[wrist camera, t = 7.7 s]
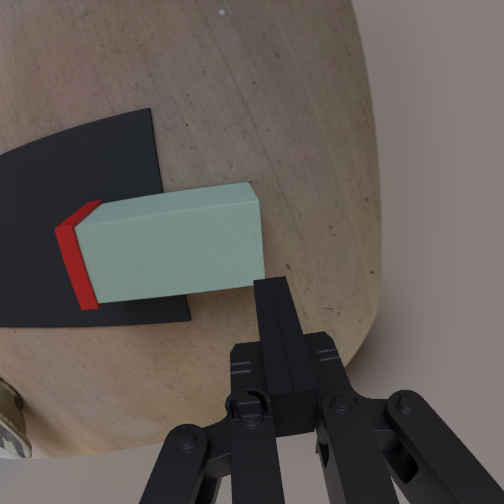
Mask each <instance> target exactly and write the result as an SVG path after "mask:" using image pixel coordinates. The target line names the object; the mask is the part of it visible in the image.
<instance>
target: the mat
mask: <svg viewBox="0 0 504 504" xmlns="http://www.w3.org/2000/svg"><path fill="white" fill-rule="evenodd" d="M162 193H163V188H162V182H161V176H160V170H159V164H158V158H157V152H156V145H155V139H154V132H153V125H152V117H151V110H150V108H146V109H141V110H137V111H132V112H128V113H124V114H120V115H116V116H112V117H108V118H105V119H101V120H97V121H94V122H90V123H87V124H83V125H80V126H77V127H74V128H71V129H67V130H64V131H61V132H58V133H56V134H53V135H50V136H47V137H44V138H41V139H39V140H36V141H33V142H31V143H28V144H26V145H23V146H21V147H18V148H16V149H13V150H11V151H9V152H6V153H4V154H2V155H0V327H93V326H119V325H139V324H155V323H170V322H183V321H191V316H190V312H189V308H188V304H187V300H186V296H185V294H182V295H173V296H164V297H155V298H146V299H136V300H127V301H116V302H106V303H101V304H100V306H99V308H98V309H89V310H82V309H81V307H80V304H79V301H78V299H77V296H76V294H75V291H74V288H73V286H72V283H71V280H70V277H69V274H68V271H67V268H66V265H65V262H64V259H63V256H62V253H61V250H60V247H59V243H58V240H57V236H56V233H55V228H56V227H57V226H59V225H60V224H61V223H62V222H63V221H65V220H66V219H67V218H68V217H70V216H71V215H72V214H73V213H75V212H76V211H77V210H79V209H80V208H81V207H82V206H84V205H85V204H86V203H88V202H93V201H98V200H102V203H103V204H104V203H109V202H115V201H120V200H126V199H132V198H137V197H143V196H149V195H156V194H162Z"/></svg>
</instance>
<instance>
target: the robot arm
mask: <svg viewBox="0 0 504 504" xmlns="http://www.w3.org/2000/svg"><path fill="white" fill-rule="evenodd" d="M253 285H254V294H255V303H256V311H257V320H258V329H259V336H260V341H257V342H248V343H239V344H235V345H234V347H233V349H232V351H231V353H230V365H231V366H230V372H231V394H230V395H229V396H228V397H227V399H226V403H225V408H226V411H227V416H226V417H225V418H224V419H222V420H221V421H220V422H217V423H215V424H213V425H210V426H207V427H204V428H201V427H199V426H196V425H194V424H183V425H180V426H177V427H175V428H174V429H172V430H171V431H170V432H169V434H168V435H167V437H166V439H165V441H164V444H163V446H162V449H161V451H160V454H159V456H158V458H157V461H156V463H155V466H154V468H153V471H152V473H151V475H150V478H149V480H148V483H147V485H146V488H145V490H144V493H143V495H142V497H141V500H140V502H139V504H215V502H216V498H217V495H218V491H219V488H220V484H221V480H222V477H224V476H227V475H230V474H231V486H232V504H285V501H284V493H283V487H282V480H281V472H280V466H279V459H278V452H277V444H276V437H284V436H291V435H297V434H303V433H309V432H314V430H315V428H316V432H317V444H316V454H317V453H319V456H320V461H321V465H322V469H323V474H324V478H325V483H326V487H327V492H328V496H329V500H330V504H399V501H398V498H397V495H396V492H395V489H394V486H393V483H392V480H391V477H392V479H393V480H394V481H395V483H396V484H397V486H398V487H399V489H400V490H401V491H402V493H403V494H404V496H405V497H406V498H407V500H408V501H409V503H410V504H504V491H503V490H502V488H501V487H500V486H499V485H498V484H497V482H496V481H495V480H494V479H493V478H492V476H491V475H490V474H489V473H488V472H487V471H486V469H485V468H484V467H483V466H482V465H481V463H479V461H478V460H477V459H476V458H475V456H474V455H473V454H472V453H471V452H470V451H469V450H468V448H467V447H466V446H465V445H464V444H463V443H462V442H461V440H460V439H459V438H458V437H457V436H456V435H455V433H454V432H453V431H452V430H451V429H450V428H449V427H448V426H447V425H446V423H445V422H444V421H443V420H442V419H441V418H440V417H439V416H438V414H437V413H436V412H435V411H434V410H433V409H432V408H431V406H430V405H429V404H428V403H427V402H426V401H425V400H424V399H423V398H422V396H420V395H419V394H418V393H416V392H414V391H411V390H400V391H397V392H395V393H394V394H392V395H391V396H390V397H389V399H371V398H365V397H363V396H361V395H359V394H358V393H356V392H355V391H354V390H353V388H352V386H351V384H350V382H349V379H348V376H347V374H346V372H345V369H344V366H343V364H342V361H341V359H340V356H339V353H338V351H337V348H336V346H335V343H334V341H333V339H332V338H331V337H330V336H329V335H328V334H327V333H326V332H325V331H323V332H317V333H310V334H304V335H303V332H302V329H301V325H300V322H299V319H298V315H297V312H296V309H295V306H294V302H293V299H292V296H291V293H290V289H289V286H288V283H287V280H286V276H283V277H275V278H267V279H258V280H253ZM390 476H391V477H390Z"/></svg>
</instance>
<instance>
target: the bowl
mask: <svg viewBox="0 0 504 504" xmlns="http://www.w3.org/2000/svg"><path fill="white" fill-rule="evenodd" d="M22 408H23V402H22V400H21V398H20V397H19V396H18V395H17V394H16V392H15V391H14V390H13V389H12V388H11V387H10V386H9V385H7V384H6V383H5V382H3V381H1V380H0V447H2V448H3V449H5V450H7V451H9V452H10V453H12V454H14V455H17V456H19V457H22V458H31V456H32V452H31V451H32V446H31V443H30V441H29V440H28V438H27V437H26V423H25V418H24V415H23V413H22V411H21V409H22Z"/></svg>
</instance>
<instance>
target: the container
mask: <svg viewBox="0 0 504 504" xmlns="http://www.w3.org/2000/svg"><path fill="white" fill-rule="evenodd" d="M55 233H56V236H57V240H58V243H59V247H60V250H61V253H62V256H63V259H64V262H65V265H66V268H67V271H68V274H69V277H70V280H71V283H72V286H73V288H74V291H75V294H76V296H77V299H78V301H79V304H80V307H81V309H82V310H89V309H98V308H99V306H100V304H101V303H106V302H116V301H127V300H136V299H146V298H155V297H164V296H173V295H182V294H190V293H198V292H207V291H215V290H223V289H230V288H238V287H246V286H253V280H258V279H265V269H264V256H263V242H262V230H261V217H260V204H259V200H258V198H257V196H256V195H255V193H254V191H253V189H252V188H251V186H250V184H249V182H245V183H236V184H227V185H219V186H211V187H204V188H196V189H189V190H182V191H175V192H168V193H162V194H156V195H149V196H143V197H137V198H132V199H126V200H120V201H115V202H109V203H104V204H103V203H102V200H98V201H93V202H88V203H86V204H85V205H84V206H82V207H81V208H80V209H79V210H77V211H76V212H75V213H73V214H72V215H71V216H70V217H68V218H67V219H66V220H65V221H63V222H62V223H61V224H60V225H59V226H57V227H56V228H55Z"/></svg>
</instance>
